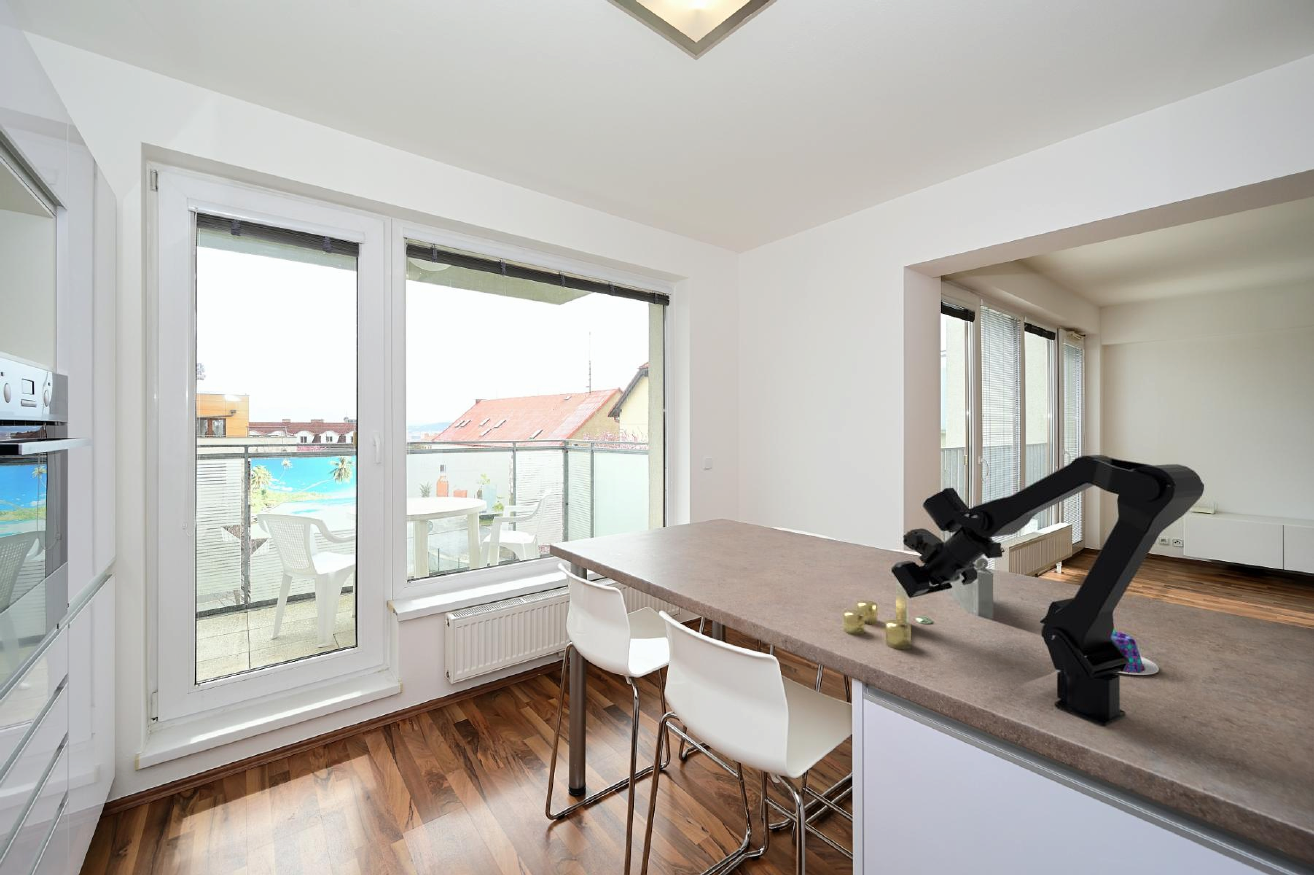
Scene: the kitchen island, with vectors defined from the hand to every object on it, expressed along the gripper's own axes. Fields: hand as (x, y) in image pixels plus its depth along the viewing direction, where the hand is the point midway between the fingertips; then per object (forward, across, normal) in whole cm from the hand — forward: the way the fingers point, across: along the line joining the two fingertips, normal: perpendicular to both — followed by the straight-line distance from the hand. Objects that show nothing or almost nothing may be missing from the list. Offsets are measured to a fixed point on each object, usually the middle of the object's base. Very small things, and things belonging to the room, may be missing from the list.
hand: (909, 595), depth 110 cm
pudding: (-12, -21, +24) cm, 34 cm away
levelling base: (+5, +3, +7) cm, 9 cm away
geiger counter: (+11, -28, +1) cm, 30 cm away
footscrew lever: (+4, +4, +6) cm, 8 cm away
